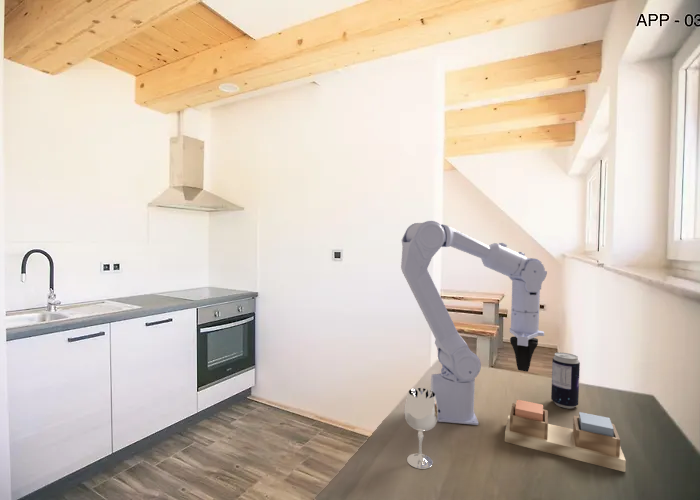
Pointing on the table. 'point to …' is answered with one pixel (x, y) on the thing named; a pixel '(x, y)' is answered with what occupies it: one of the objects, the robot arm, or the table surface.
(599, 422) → the slate key
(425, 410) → the wineglass
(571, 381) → the beverage can
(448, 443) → the table surface
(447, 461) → the table surface
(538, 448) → the wooden socket board
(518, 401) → the terracotta key
